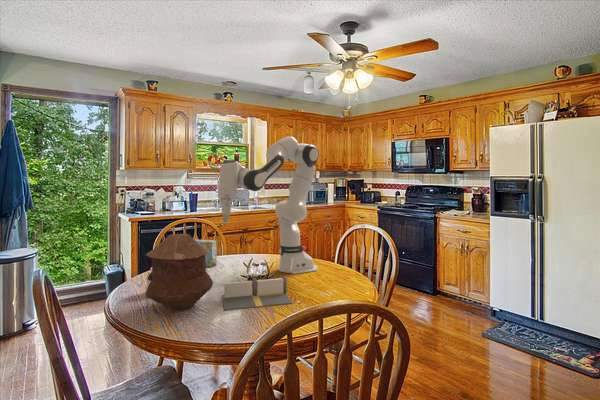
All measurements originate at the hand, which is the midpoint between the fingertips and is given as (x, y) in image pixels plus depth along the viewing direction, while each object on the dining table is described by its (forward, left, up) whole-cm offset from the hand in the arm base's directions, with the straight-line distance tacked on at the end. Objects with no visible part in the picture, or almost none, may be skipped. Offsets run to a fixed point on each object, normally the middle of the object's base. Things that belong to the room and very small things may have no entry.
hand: (224, 222), depth 169 cm
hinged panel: (-4, +19, -30) cm, 36 cm away
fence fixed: (-18, +19, -31) cm, 40 cm away
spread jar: (+30, 0, -31) cm, 43 cm away
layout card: (-11, +23, -31) cm, 40 cm away
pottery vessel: (+20, +23, -31) cm, 43 cm away
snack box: (+13, -44, -31) cm, 56 cm away
